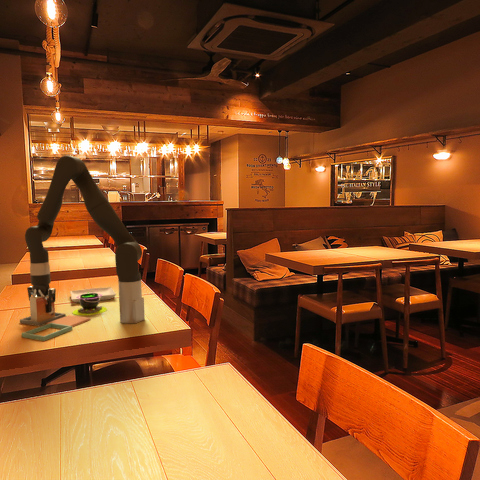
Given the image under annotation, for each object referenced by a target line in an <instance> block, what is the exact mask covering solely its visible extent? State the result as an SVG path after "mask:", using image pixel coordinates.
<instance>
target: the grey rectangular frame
mask: <svg viewBox="0 0 480 480" xmlns="http://www.w3.org/2000/svg"><path fill="white" fill-rule="evenodd" d="M65 316H67V315H66V313H63V312H56V311H55V317H53V318H50V319H47V320H44V321H41V322H37V321H31V315H30V316H26V317H24V318H21V319H19V324H24V325H30V326H36V327H41V326H43V325H46V324H47V323H48V322H51V321H54V320H57V319H60V318H63V317H65Z"/></svg>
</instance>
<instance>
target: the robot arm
mask: <svg viewBox="0 0 480 480" xmlns="http://www.w3.org/2000/svg"><path fill="white" fill-rule="evenodd" d="M70 181H72V182H73V183H74V184H75V186H76V187H77V188H78V190H79V192H80V194H81V195H82V199H83V200H82V201H83V202H84V206H85V209H86V210H87V212H88V214H89V215H90V217H91V218H92V220H93V221H94V223H96V225H97V226H98V227H99V228H100V229H101V230H103V231H104V232H105V233H106V234H107V235H108V236H109V237H110V238H111V239H112V240H113V242H114V244H115V245H116V247H117V248H116V250H115V254H114V255H115V256H114V258H115V259H114V260H115V261H114V262H115V272H116V275H117V278H118V281H117V282H118V300H119V301H118V303H119V304H118V305H119V322H120V323H122V324H137V323H140V322H142V321H144V320H145V318H146V317H145V298H144V297H143V296H142V295H143V292H142V291H143V290H142V274H141V272H140V270H139V260H141V258H142V256H143V250H142V249H143V248H142V247H141V245H140V244H139V242H137V240H136V239H135V238H134V236H133V235H132V234H131V232H129V230H128V229H127V228H126V226H125V224H124V223H123V222H122V219H121V218H120V217H119V215H118V214H117V212H116V211H115V209H114V208H113V205H112V204H111V203H110V202H109V200H108V198H107V197H106V196H105V195H104V194H105V193H103V191H102V190H101V188H100V187H99V186H98V185H97V183H96V182H95V180H94V179H93V176H92V174H91V173H90V171H89V169H88V167H87V165H86V164H85V162H84V161H83V160H82V159H81V158H79V157H77V156H72V155H63V156H61V157H59V159H58V160H57V162H56V164H55V167H54V171H53V174H52V177H51V181H50V184H49V187H48V191H47V193H46V196H45V198H44V199H43V202H42V204H41V206H40V208H39V210H38V212H37V215H36V219H37V221H38V222H37V224H36V225H35V226H34V225H33V226H32V225H31V226H29V227H28V228H26V230H25V233H24V239H25V243H26V247H27V250H28V252H29V262H30V265H29V270H30V271H29V274H30V275H29V276H30V284H31V285H32V286H27V295H28V300H29V302H30V297H35V296H39V297H42V298H43V300H44V301H45V303H46V304H45V305H46V313H49V312H51V311H52V305H51V304H52V303H53V302H54V303H55V302H56V295H57V293H56V291H57V290H56V288H55V287H53V288H51V287H50V284H51V282H52V281H51V266H50V262H49V261H50V260H49V250H48V249H47V248H45V247H44V244H43V242H46V241H47V240H49V239H50V237H51V235H52V233H53V231H54V230H53V229H54V225H55V221H56V219H57V217H58V215H59V214H60V212H61V208H62V206H63V199H64V194H65V190H66V188H67V186H68V185H69V183H70ZM45 296H47V297H45ZM47 298H49V301H48V300H47Z"/></svg>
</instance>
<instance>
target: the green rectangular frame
mask: <svg viewBox="0 0 480 480" xmlns="http://www.w3.org/2000/svg"><path fill="white" fill-rule="evenodd" d="M49 328H52V329H53V328H54V329H59V330H56V331H54V332H51V333H49V334H45V335H40V334H37V333H39V332H42V331H44V330H47V329H49ZM72 330H73V327H72V326H69V325H62V324H55V323H49V324H45V325H42V326H37V327H36V328H32V329H30V330H27V331H24V332H22V333H21V337H22V338H24V339H31V340H36V341H43V342H45V341H48V340H50V339H53V338H55V337H57V336H60V335H62V334H65V333H68V332H70V331H72Z"/></svg>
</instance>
